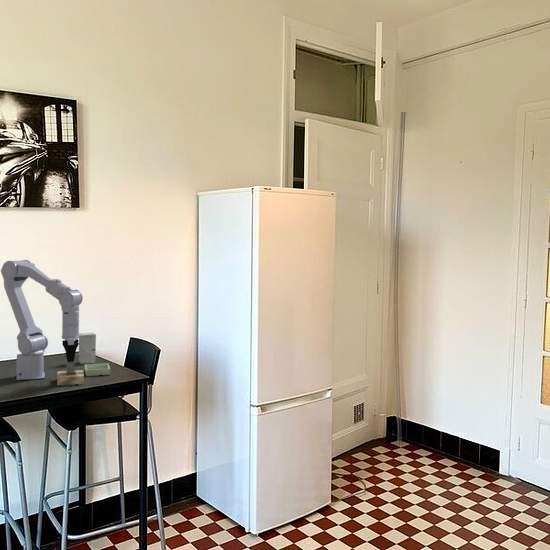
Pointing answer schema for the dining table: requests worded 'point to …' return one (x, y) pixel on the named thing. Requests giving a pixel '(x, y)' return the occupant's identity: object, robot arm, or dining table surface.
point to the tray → (97, 369)
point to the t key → (70, 363)
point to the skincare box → (87, 348)
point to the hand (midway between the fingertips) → (70, 360)
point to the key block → (70, 377)
